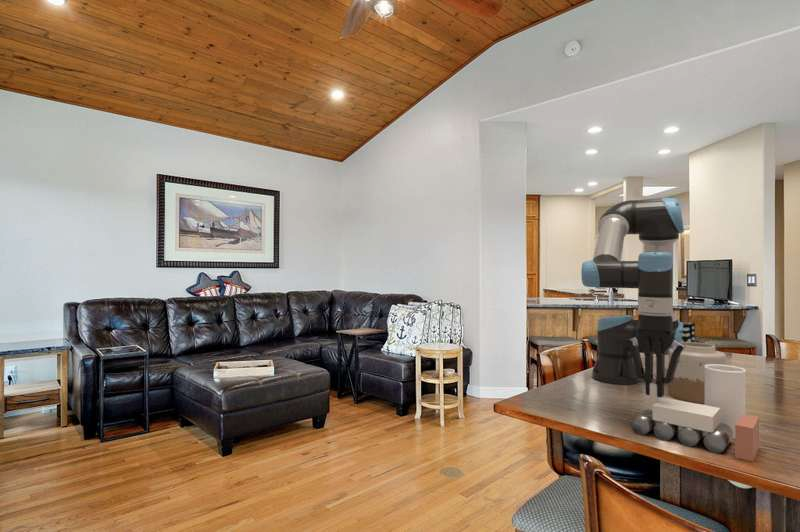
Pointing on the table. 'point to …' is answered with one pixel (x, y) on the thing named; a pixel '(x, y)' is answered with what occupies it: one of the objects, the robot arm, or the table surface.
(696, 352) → the vase
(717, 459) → the table surface
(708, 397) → the cup
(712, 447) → the rollers
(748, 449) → the block
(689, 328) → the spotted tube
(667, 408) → the board
